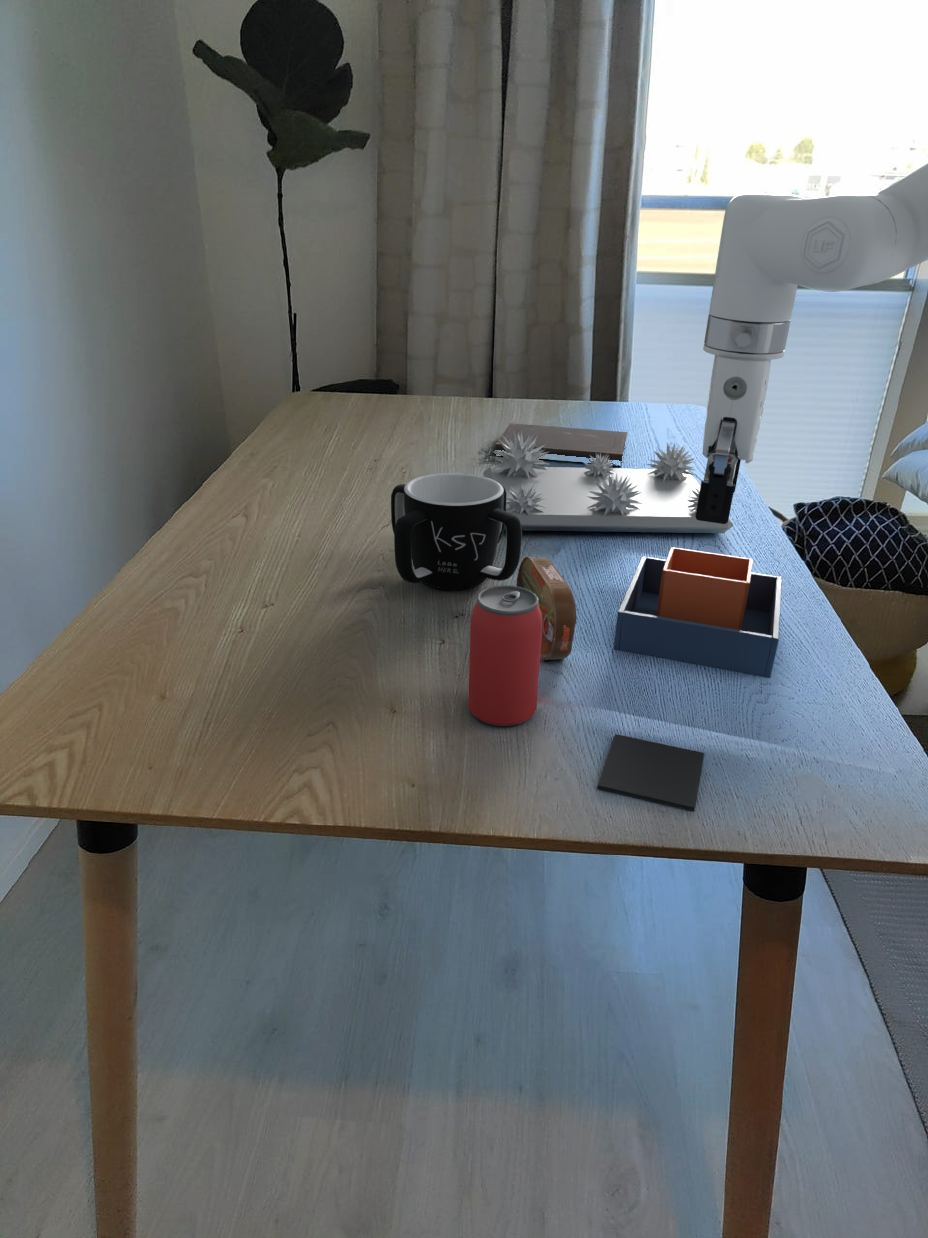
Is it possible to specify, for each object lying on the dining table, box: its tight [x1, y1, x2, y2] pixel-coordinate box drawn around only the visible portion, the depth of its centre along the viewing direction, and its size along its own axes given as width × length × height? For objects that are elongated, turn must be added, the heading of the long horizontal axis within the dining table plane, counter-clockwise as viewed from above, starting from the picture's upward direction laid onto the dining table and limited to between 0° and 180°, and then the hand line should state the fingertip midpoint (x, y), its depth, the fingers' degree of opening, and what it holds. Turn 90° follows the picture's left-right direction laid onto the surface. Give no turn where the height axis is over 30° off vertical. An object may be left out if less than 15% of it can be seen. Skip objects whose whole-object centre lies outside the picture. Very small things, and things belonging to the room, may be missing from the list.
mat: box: [596, 733, 705, 812], centre depth 74 cm, size 8×8×1 cm
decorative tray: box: [482, 431, 734, 534], centre depth 131 cm, size 35×26×10 cm
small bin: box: [656, 546, 754, 630], centre depth 95 cm, size 9×7×8 cm
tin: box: [516, 556, 577, 662], centre depth 93 cm, size 15×3×8 cm, turn 10°
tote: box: [613, 555, 783, 679], centre depth 96 cm, size 16×16×5 cm
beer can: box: [467, 584, 543, 727], centre depth 79 cm, size 7×7×12 cm
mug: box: [390, 472, 523, 591], centre depth 106 cm, size 16×16×12 cm
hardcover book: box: [494, 422, 628, 462], centre depth 161 cm, size 16×23×2 cm
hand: (715, 505), depth 90 cm, fingers open, 9 cm apart
